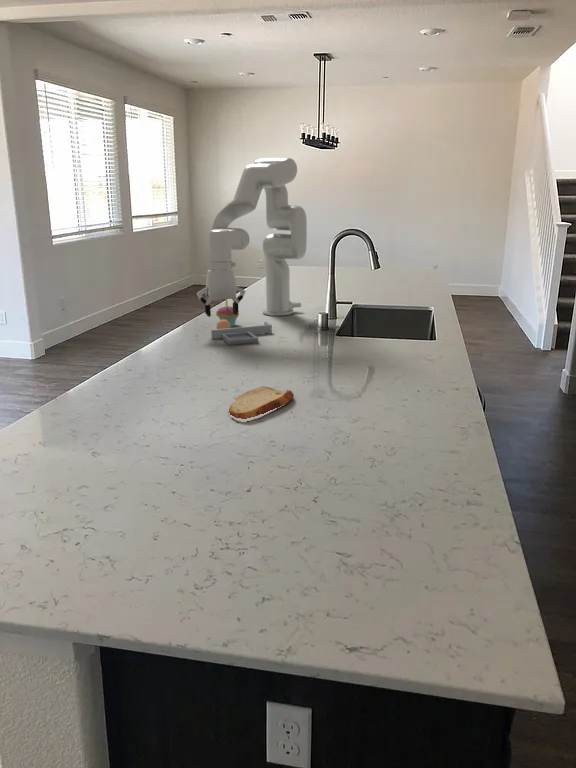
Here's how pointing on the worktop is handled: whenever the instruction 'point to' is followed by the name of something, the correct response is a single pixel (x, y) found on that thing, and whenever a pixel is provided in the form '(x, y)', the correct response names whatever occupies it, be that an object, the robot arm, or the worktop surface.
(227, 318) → the cupcake
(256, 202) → the robot arm
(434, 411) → the worktop surface
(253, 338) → the dish
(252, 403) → the bread slice
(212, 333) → the wall
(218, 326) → the ball
